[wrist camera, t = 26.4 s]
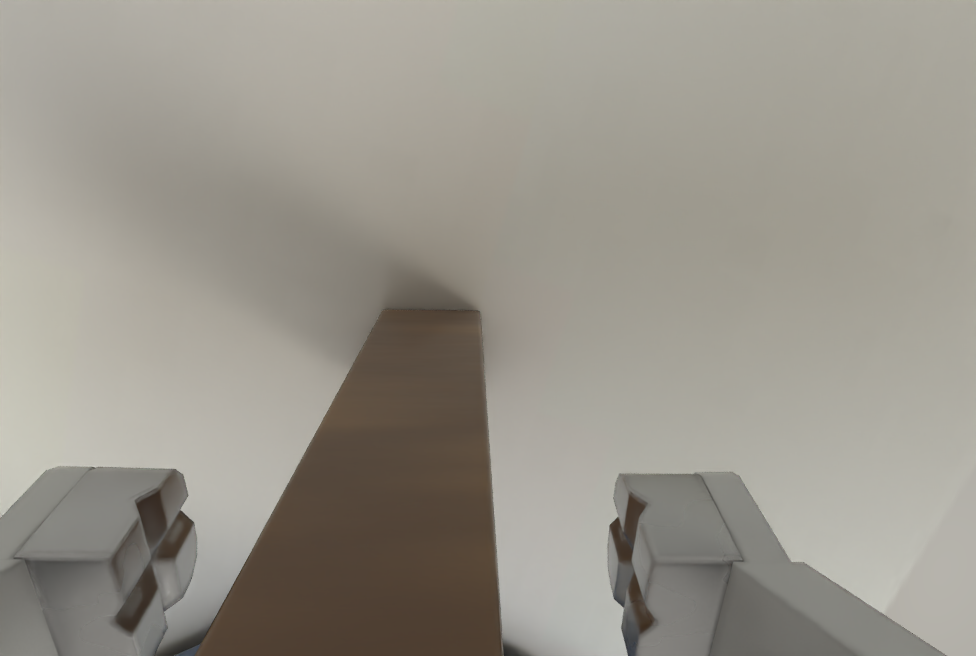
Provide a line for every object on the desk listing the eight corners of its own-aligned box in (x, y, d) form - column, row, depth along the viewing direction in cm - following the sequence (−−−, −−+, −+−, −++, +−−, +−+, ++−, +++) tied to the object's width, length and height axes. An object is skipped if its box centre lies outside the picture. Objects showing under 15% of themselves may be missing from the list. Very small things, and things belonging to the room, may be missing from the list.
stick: (480, 309, 16) (545, 1218, 2) (479, 402, 17) (522, 1536, 3) (381, 308, 16) (-135, 1241, 2) (384, 401, 16) (-13, 1562, 3)
